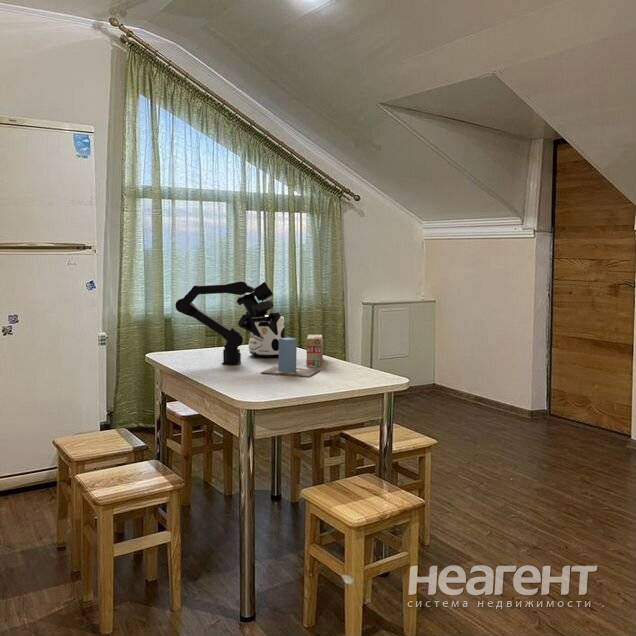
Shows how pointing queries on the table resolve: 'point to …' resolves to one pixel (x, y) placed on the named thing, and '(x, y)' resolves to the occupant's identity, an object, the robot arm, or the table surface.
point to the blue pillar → (287, 354)
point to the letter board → (298, 372)
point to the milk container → (266, 339)
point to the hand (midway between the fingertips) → (268, 335)
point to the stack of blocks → (314, 350)
